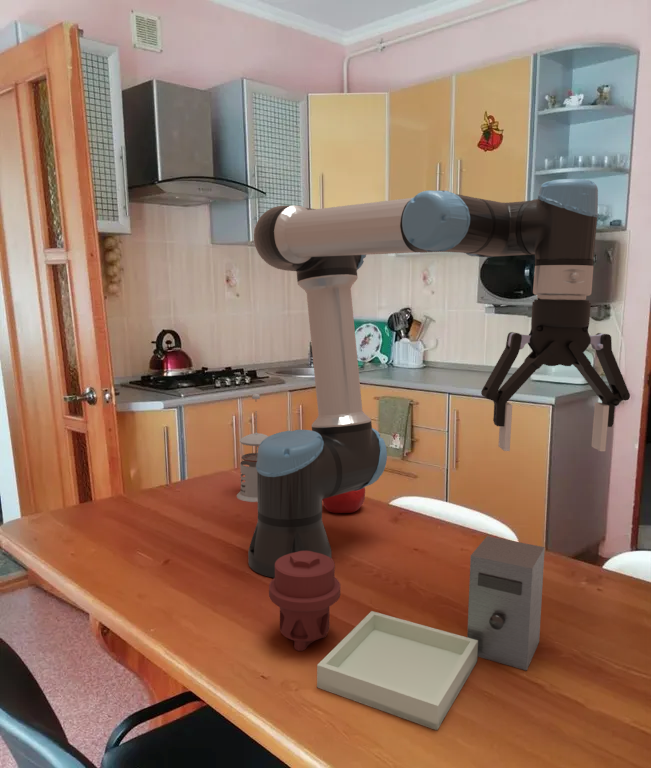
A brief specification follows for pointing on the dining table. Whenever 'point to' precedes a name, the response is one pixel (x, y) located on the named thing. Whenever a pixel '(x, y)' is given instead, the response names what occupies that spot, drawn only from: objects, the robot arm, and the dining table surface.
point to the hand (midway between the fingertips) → (551, 449)
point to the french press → (250, 465)
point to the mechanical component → (304, 595)
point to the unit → (506, 600)
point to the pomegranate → (345, 502)
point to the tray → (399, 668)
